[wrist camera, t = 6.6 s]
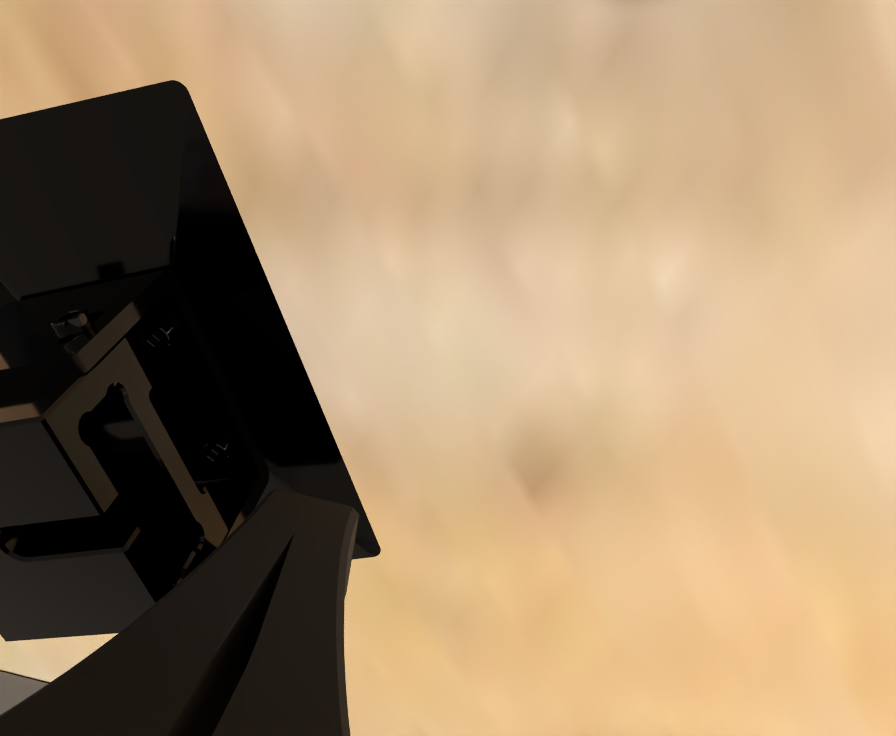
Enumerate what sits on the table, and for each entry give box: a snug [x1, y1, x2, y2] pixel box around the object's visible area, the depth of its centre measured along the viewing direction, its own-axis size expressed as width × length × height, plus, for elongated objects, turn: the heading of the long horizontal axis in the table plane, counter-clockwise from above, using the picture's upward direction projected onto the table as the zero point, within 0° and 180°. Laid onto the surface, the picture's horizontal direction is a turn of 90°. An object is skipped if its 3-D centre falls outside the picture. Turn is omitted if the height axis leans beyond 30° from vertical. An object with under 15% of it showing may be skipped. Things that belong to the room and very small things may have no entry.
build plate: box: [0, 80, 381, 641], centre depth 12 cm, size 12×7×5 cm, turn 15°
